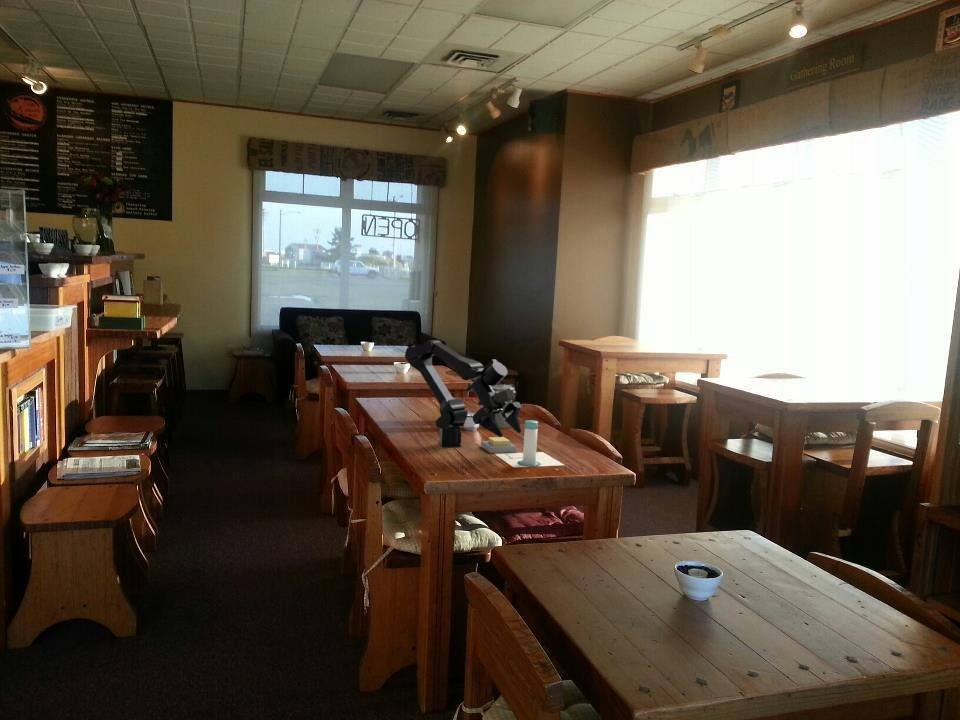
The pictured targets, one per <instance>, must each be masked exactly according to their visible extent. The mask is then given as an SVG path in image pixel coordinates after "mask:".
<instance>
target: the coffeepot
mask: <svg viewBox="0 0 960 720" xmlns="http://www.w3.org/2000/svg"><path fill="white" fill-rule="evenodd" d="M505 383H506V380H505V379H502V380H501V381H500V383H499V384H497V385H496V386H492V385H491V386H492V388H493V390H494V391H495V392H496V391H498V392H499V393H500V392H502V391H506V389H509V388H513V389H514V390H515V391H516V386H515V384H514V383H510V384H505ZM511 402H514V400H510V401H507V404H506V405H505V406H503V407H504V408H505V407H506V406H507V405H508V404H509V403H511ZM505 419H506V418H504V417H503V416H502V414H501V415H496V416H495V421H496V422H497V424H498V426H499V428H500V429H511V428H512V427H511V426H510V425H509V424H508V423H507V422H506V421H505Z"/></svg>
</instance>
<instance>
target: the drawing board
mask: <svg viewBox="0 0 960 720" xmlns="http://www.w3.org/2000/svg"><path fill="white" fill-rule="evenodd" d="M494 455H495V456H497V457H498V458H499V459H501V460H503V461H504V462H505V463H507V464H508V465H510V466H511V467H513V468H530V467H531V468H533V467H554V466H555V467H557V466H565V464H564V463H562V462H560V461H559V460H557V459H556V458H553V457H552V456H551V455H548V454H547V453H545V452H543V451H536V464H533V465H528V464H524V463H523V452H512V453H494Z"/></svg>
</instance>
